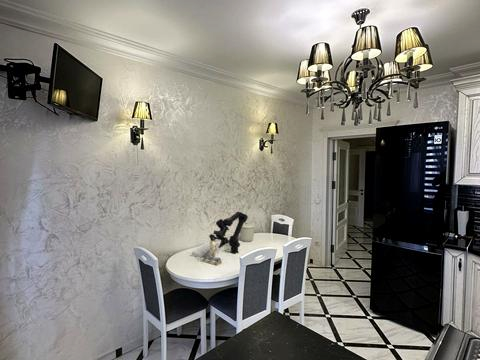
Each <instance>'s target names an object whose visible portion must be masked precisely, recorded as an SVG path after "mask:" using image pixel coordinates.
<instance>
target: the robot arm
mask: <svg viewBox="0 0 480 360" xmlns="http://www.w3.org/2000/svg"><path fill="white" fill-rule="evenodd" d="M248 218H249V216H248V215H247V214H245V213H243V212H241V211H236V212H235V213H234V214H232V215H231V216H230V217H227V218H225V219H222V218H220V219H219V220H217V221H215V222H216V223H215V224H216V226H217V228H218V229H219V230H213V233H212V234H209V235H208V238H209V239H210V241H215V242H216V240H219V241H220V243H219V245H218V249H220V248H222V247H223V246H225V245H227V244H228V245H229V246H230V251H229V253H232V254H234V255H236V254H238V253H240V251H239V247H240V246H241V243H240V242H239V241H240V240H239V237H240V231H241V228H242V226H243V223H246V221H247V220H248ZM237 219H238V222H237V225H236V227H235V230H234V232H233V235H230V237H229V239H228V237H226V233H227V231H229V230H230V228H229V227H231V226H232V225H233V223H234V222H235V221H236V220H237Z"/></svg>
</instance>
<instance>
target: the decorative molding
mask: <svg viewBox="0 0 480 360" xmlns="http://www.w3.org/2000/svg"><path fill="white" fill-rule="evenodd" d="M215 247H217V244H216V243H215ZM208 253H210V241H205V243H203V244H202V245H200V246H199V247H197V248H195V249H194V250H192V252H191V254H190V255H191V257H197V258H202V257H203V258H204V255H206V254H208Z"/></svg>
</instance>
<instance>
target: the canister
mask: <svg viewBox="0 0 480 360" xmlns="http://www.w3.org/2000/svg"><path fill="white" fill-rule="evenodd" d="M255 227H256V225H255V224H254V223H250V222H249V221H247V220H246V222H245V223H243V226H242V228H241V231H240V234H239V237H240V240H241V241H242V242H246V243H248V242H251V241H253V240H254V235H255Z"/></svg>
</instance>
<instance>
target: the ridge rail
mask: <svg viewBox="0 0 480 360" xmlns="http://www.w3.org/2000/svg"><path fill="white" fill-rule="evenodd" d="M202 262H203V263H207V264H209V265H213V266H217V267H218V266H220V265H221V264H222V263H223V261H222V259H221V257H217V256H215V257H210V254H208V253H206V254H205V255H204V256H203V258H202Z"/></svg>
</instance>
